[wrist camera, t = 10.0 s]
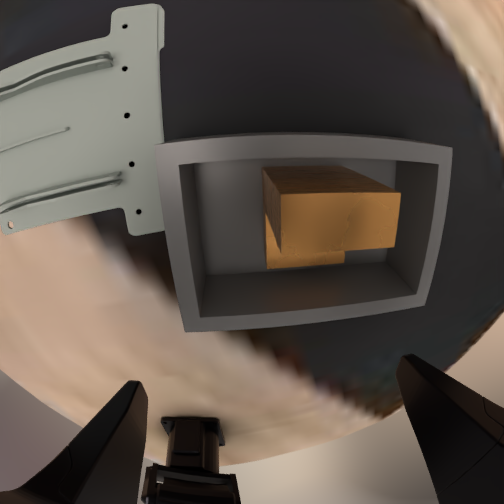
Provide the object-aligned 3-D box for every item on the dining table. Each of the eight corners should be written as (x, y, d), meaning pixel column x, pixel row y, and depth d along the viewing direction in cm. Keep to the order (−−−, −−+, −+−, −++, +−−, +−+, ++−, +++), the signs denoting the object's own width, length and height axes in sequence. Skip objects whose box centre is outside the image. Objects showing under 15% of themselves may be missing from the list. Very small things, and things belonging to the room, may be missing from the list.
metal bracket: (-7, 276, 13) (-35, 54, 6) (21, 243, 18) (0, 66, 11) (197, 233, 17) (182, -9, 11) (184, 209, 22) (172, 23, 16)
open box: (391, 269, 21) (424, 305, 16) (194, 286, 20) (185, 332, 16) (406, 138, 16) (452, 147, 12) (175, 139, 16) (154, 145, 11)
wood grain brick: (337, 253, 19) (380, 314, 13) (264, 259, 19) (280, 327, 13) (341, 165, 17) (400, 192, 10) (261, 167, 17) (280, 194, 10)
